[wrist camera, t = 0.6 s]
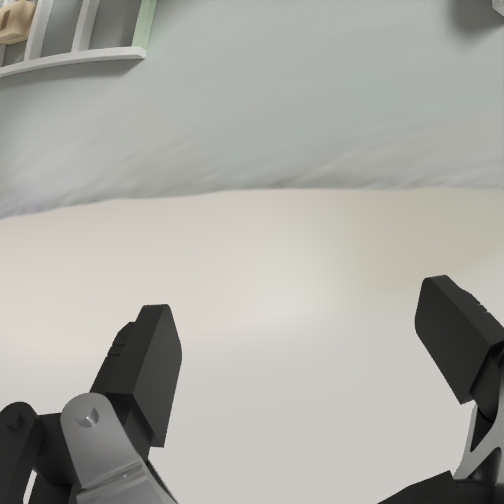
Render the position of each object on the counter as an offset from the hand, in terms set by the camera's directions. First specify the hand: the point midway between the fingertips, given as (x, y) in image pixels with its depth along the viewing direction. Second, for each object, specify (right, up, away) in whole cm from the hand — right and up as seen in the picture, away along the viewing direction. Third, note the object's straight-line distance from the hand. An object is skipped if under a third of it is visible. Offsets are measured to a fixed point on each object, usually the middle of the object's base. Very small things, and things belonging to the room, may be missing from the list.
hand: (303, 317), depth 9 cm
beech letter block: (-33, +33, +15) cm, 49 cm away
